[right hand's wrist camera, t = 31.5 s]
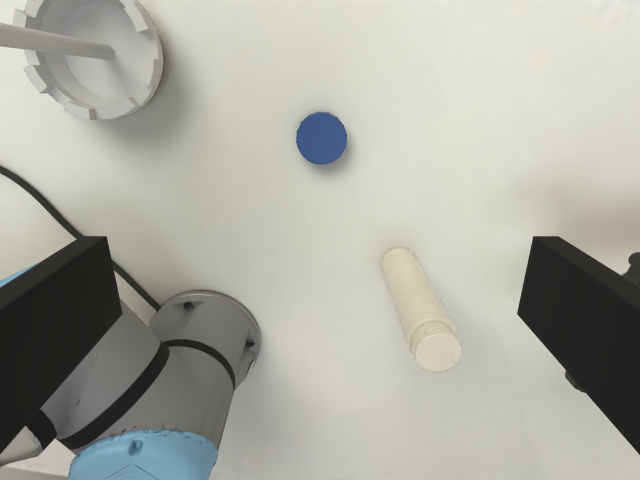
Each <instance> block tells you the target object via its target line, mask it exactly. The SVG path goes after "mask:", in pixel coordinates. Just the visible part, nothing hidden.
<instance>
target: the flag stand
mask: <svg viewBox="0 0 640 480" xmlns="http://www.w3.org/2000/svg"><path fill="white" fill-rule="evenodd" d="M0 46H3V47H11V48H18V49H24V51H25V55H26V58H27V60H28V63H29V65H30V66H27V67H24V68H23V69H24V71H25V73H26V75H27V76H28V78H29V80H30V81H31V83H32V84H33V85H34V86H35V87H36V89H37V90H38V91H39V92H40V93H48V94H49V95H50V96H52V97H53V98H54V99H55V100H56V101H57V102H58V103H60V104H61V105H63V106H64V107H65V109H64V112H67V113H69V114H71V115H74V116H76V117H80V118H84V119H88V120H92V119H114V118H120V117H125V116H128V115H130V114H132V113H135V112H137V111H138V110H139V109H141V108H142V107H143V106H145V105H146V104H147V102H148V101H149V100H150V99H151V98H152V97H153V95H154V93H155V91H156V89H157V87H158V85H159V82H160V79H161V76H162V72H163V63H164V59H163V49H162V46H161V42H160V39H159V36H158V32H157V30H156V28H155V26H154V23H153V21H152V19H151V17H150V16H149V14H148V13H147V11H146V10H145V9H144V7H143V6H142V5H141V3H140V2H139V1H138V0H28V2H27V5H26V7H25V10H24V11H20V10H16V9H15V13H14V19H13V25H9V24H4V23H0Z"/></svg>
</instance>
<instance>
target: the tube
mask: <svg viewBox="0 0 640 480" xmlns="http://www.w3.org/2000/svg"><path fill="white" fill-rule="evenodd" d="M381 269H382V272H383V275H384V278H385V281H386V284H387V287H388V290H389V293H390V296H391V299H392V302H393V305H394V308H395V311H396V314H397V316H398V319H399V322H400V325H401V328H402V331H403V334H404V337H405V340H406V343H407V346H408V349H409V351H410V352H411V354H412V355H413V357H414V359H415V361H416V362H417V364H418V365H419V366H421V367H422V368H423V369H425V370H427V371H431V372H442V371H447V370H449V369H451V368H452V367H453V366H454V365H456V364H457V362H458V361H459V359H460V357H461V354H462V347H461V344H460V342H459V336H458V332H457V329H456V328H455V326H454V324H453V322H452V320H451V319H450V317H449V315H448V313H447V312H446V310H445V308H444V306H443V305H442V303H441V301H440V299H439V297H438V296H437V294H436V292H435V290H434V289H433V287H432V285H431V283H430V282H429V280H428V278H427V276H426V274H425V273H424V271H423V269H422V267H421V266H420V264H419V262H418V260H417V258H416V257H415V255H414V254H413V253H412V252H411V251H410V250H408V249H405V248H395V249H392V250H390V251H389V252H387V253H386V254H385V255H384V257H383V259H382V261H381Z"/></svg>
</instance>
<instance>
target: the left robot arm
mask: <svg viewBox="0 0 640 480" xmlns="http://www.w3.org/2000/svg"><path fill="white" fill-rule="evenodd" d="M628 261H629V264H630V265H631V266H630V268H629V269H628V271H627V272H626V273H623V274H621V276H623V277H624V278H626V279H627V280H629V281H631V282H632V283H634V284H635V285H637V286H639V287H640V252H636V253H633V254H632V255H631V256H630V257H629V260H628ZM565 377H566V379H567V380H568V381H569V382H570V383H571V384H572V385H573V387H574V388H576V389H578V390H580V391H581V392H584V393H586V392H585V391H584V390H583V389H582V388H581V387H580V385H579V384H578V383H577V382H576V381H575V380H574V379H573V377H572V376H571V375H570V374H569V373H568V372H567V371H566V373H565Z"/></svg>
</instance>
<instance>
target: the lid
mask: <svg viewBox="0 0 640 480" xmlns="http://www.w3.org/2000/svg"><path fill="white" fill-rule="evenodd" d="M346 136H347V135H346V132H345V129H344V125H343V124H342V123H341V122H340V121H339V119H338V118H337V117H335V116H334V115H332V114H329V112H328V113H325V112H317V113H314V114H311V115H308V117H307V118H305V119H304V120H303V122H301V125H300V127H299V129H298V130H297V141H296V143H297V146H298V149H299V151H300V153H301V154H302V155H303V157H304V158H306V159H307V160H308V161H310V162H312V163H315V164H328V163H331V162H333V161H335V160H336V159H337V158H338V157H340V155H341V154H342V153H343V151H344V149H345V146H346Z"/></svg>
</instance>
